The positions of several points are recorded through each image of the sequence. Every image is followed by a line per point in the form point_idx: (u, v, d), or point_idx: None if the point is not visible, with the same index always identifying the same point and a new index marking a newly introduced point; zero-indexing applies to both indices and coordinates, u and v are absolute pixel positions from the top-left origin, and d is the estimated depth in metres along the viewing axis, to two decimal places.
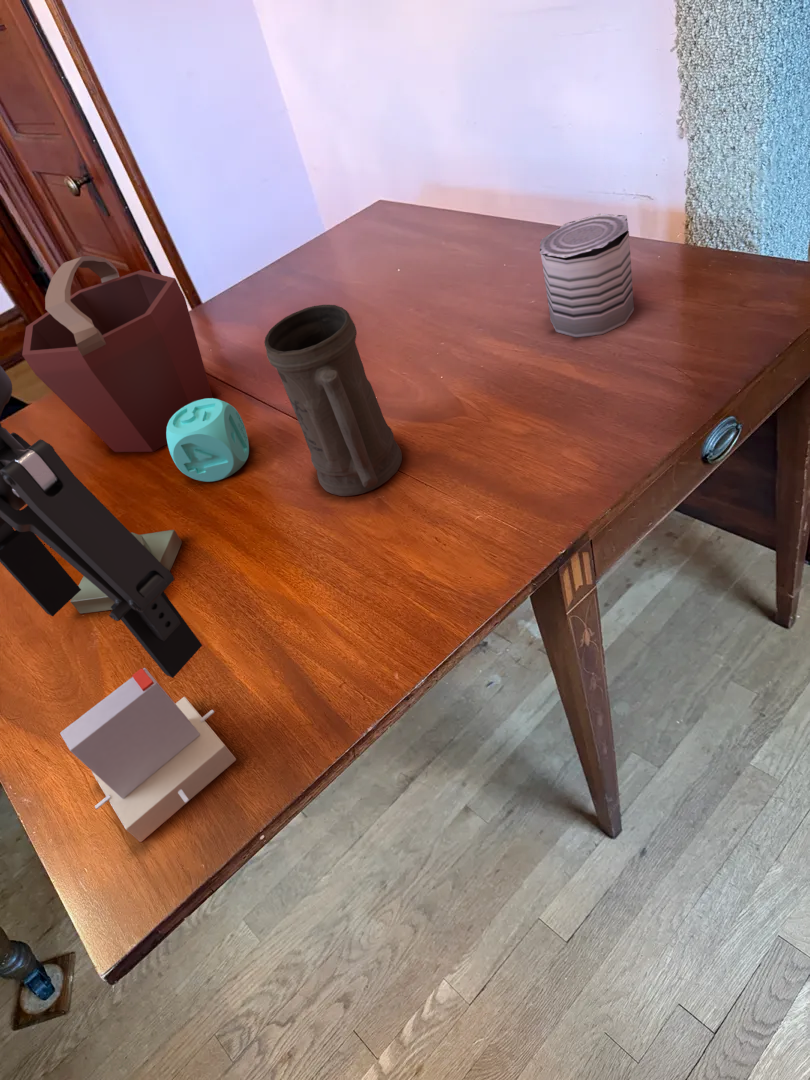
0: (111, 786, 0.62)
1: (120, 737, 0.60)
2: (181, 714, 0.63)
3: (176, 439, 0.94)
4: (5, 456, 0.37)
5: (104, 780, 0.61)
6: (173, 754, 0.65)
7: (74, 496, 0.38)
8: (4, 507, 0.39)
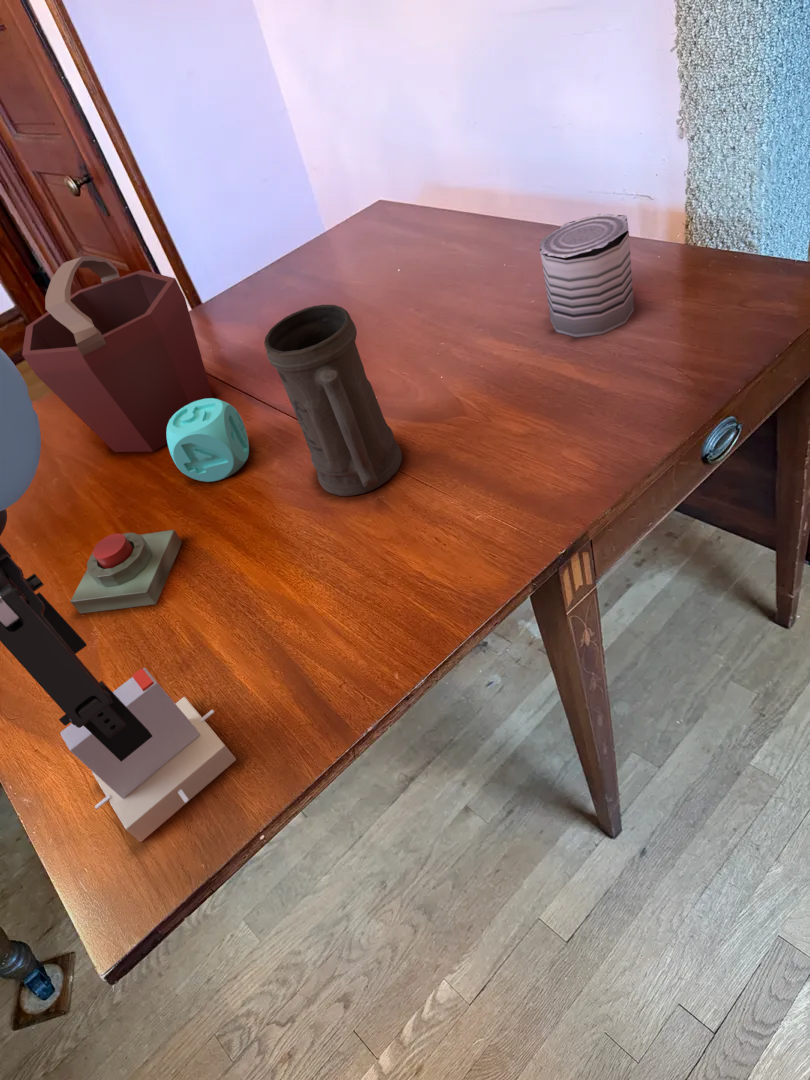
0: (111, 786, 0.62)
1: None
2: (181, 714, 0.63)
3: (176, 439, 0.94)
4: None
5: (104, 780, 0.61)
6: (173, 754, 0.65)
7: (32, 632, 0.45)
8: None
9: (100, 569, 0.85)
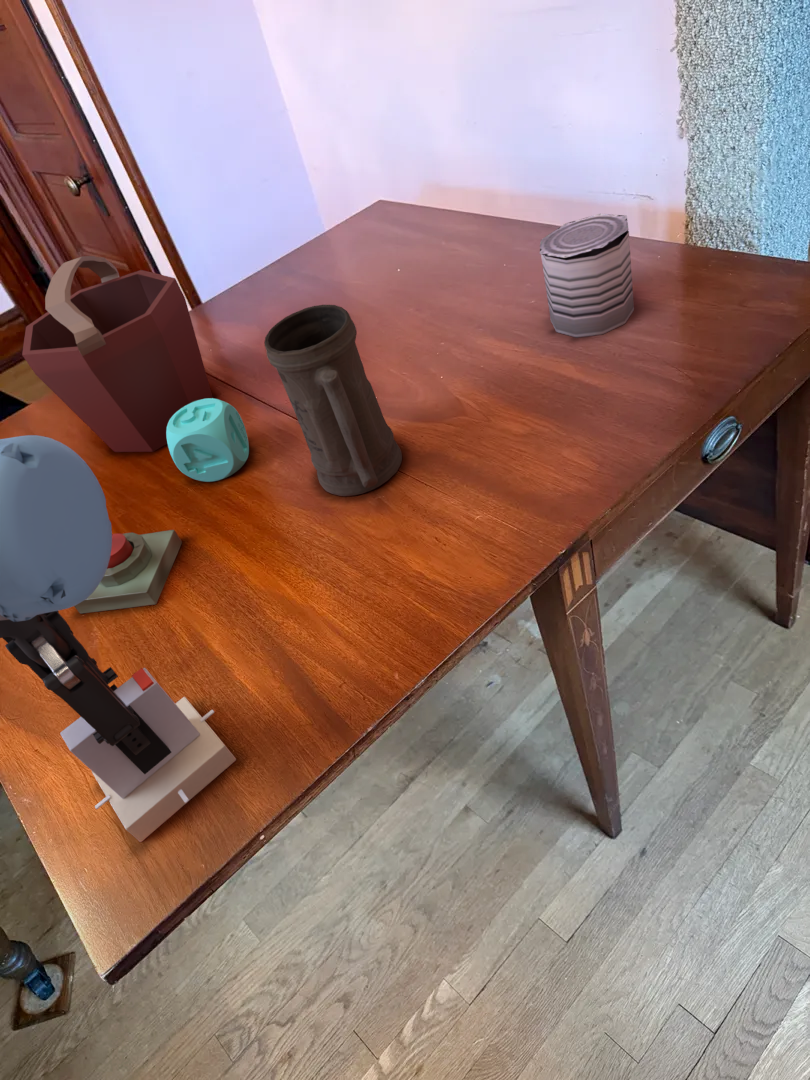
0: (111, 786, 0.62)
1: None
2: (181, 714, 0.63)
3: (176, 439, 0.94)
4: (46, 655, 0.49)
5: (104, 780, 0.61)
6: (173, 754, 0.65)
7: (89, 688, 0.51)
8: (40, 672, 0.52)
9: None
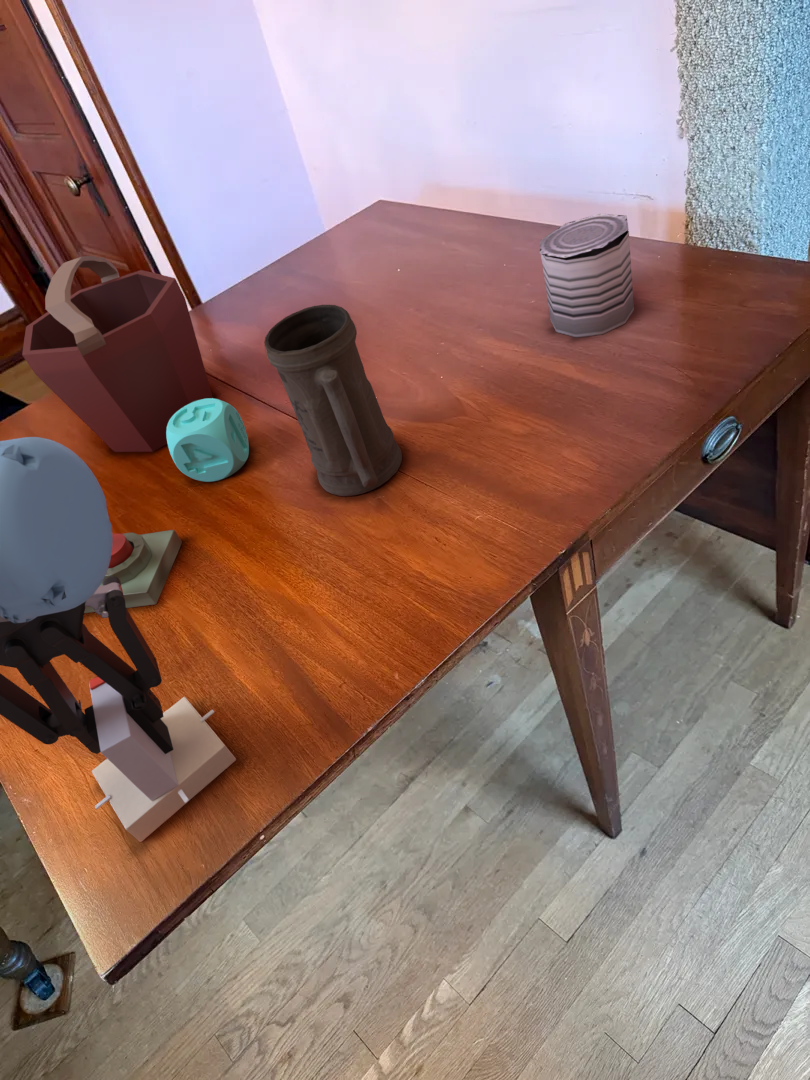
0: (166, 772, 0.61)
1: None
2: None
3: (176, 439, 0.94)
4: None
5: (160, 766, 0.60)
6: None
7: (127, 612, 0.56)
8: (79, 643, 0.54)
9: None
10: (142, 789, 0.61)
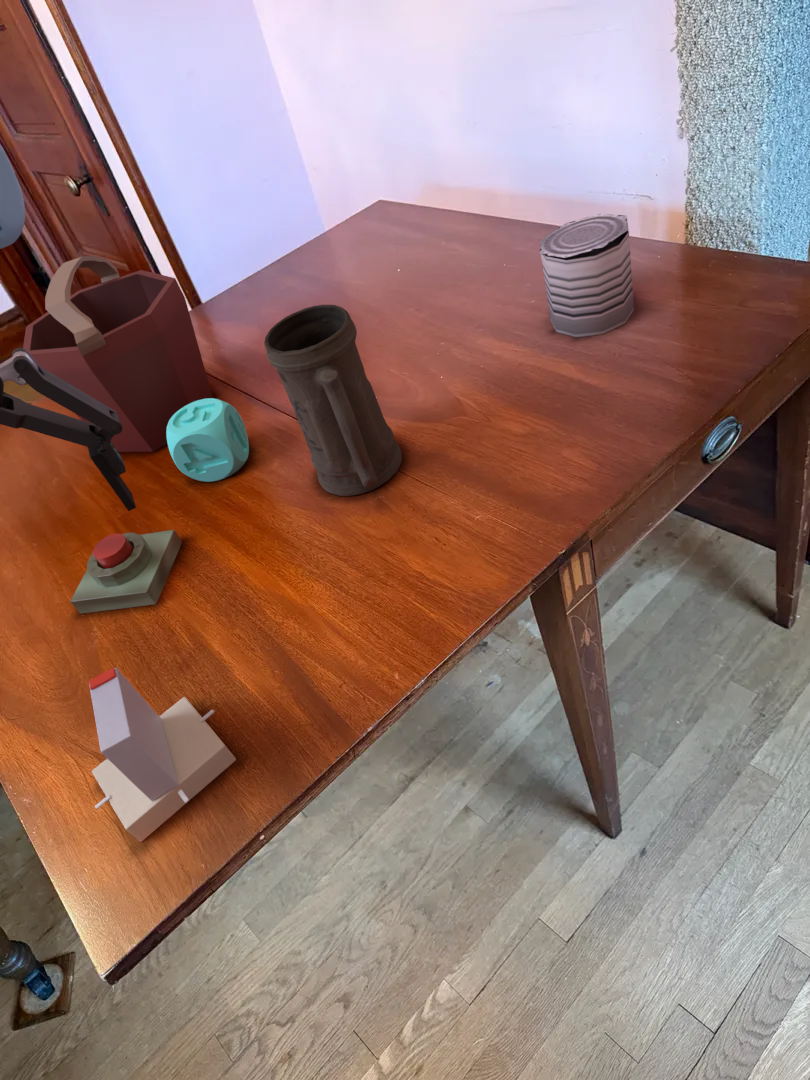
0: (166, 772, 0.61)
1: (138, 720, 0.61)
2: (142, 698, 0.66)
3: (176, 439, 0.94)
4: None
5: (160, 766, 0.60)
6: (165, 738, 0.66)
7: (50, 376, 0.61)
8: (5, 409, 0.59)
9: (100, 569, 0.85)
10: (142, 789, 0.61)
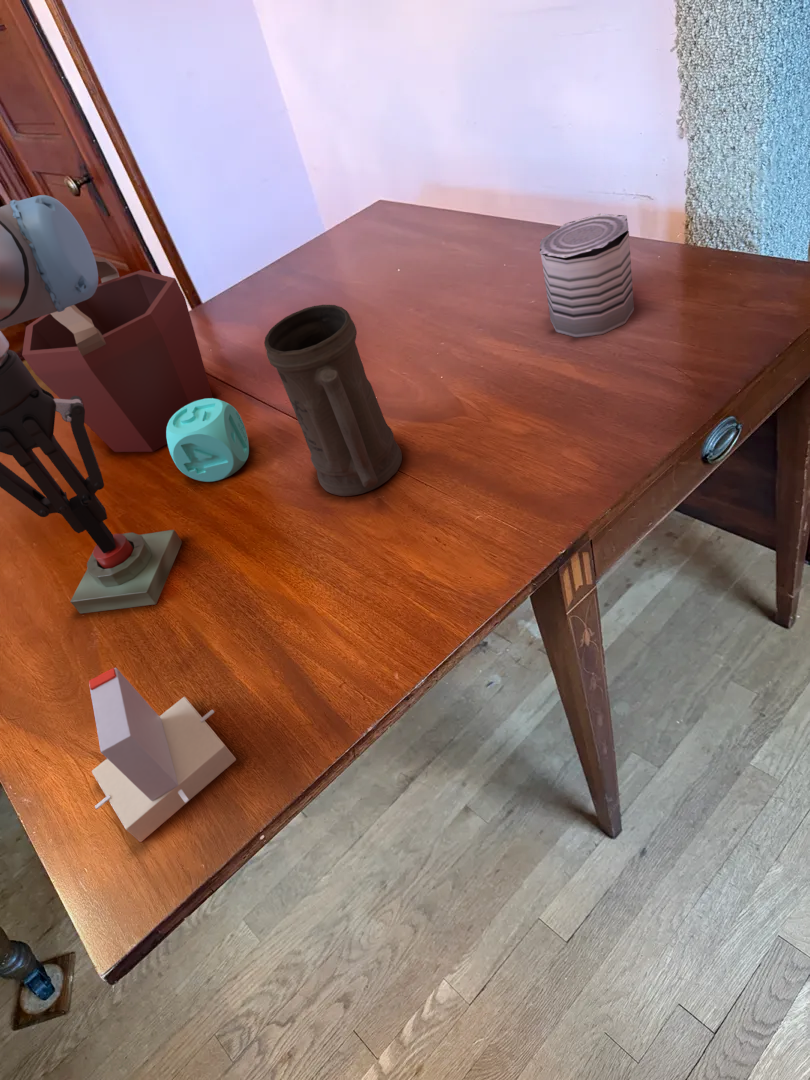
0: (166, 772, 0.61)
1: (138, 720, 0.61)
2: (142, 698, 0.66)
3: (176, 439, 0.94)
4: (59, 401, 0.74)
5: (160, 766, 0.60)
6: (165, 738, 0.66)
7: (84, 426, 0.77)
8: (49, 439, 0.74)
9: (100, 569, 0.85)
10: (142, 789, 0.61)
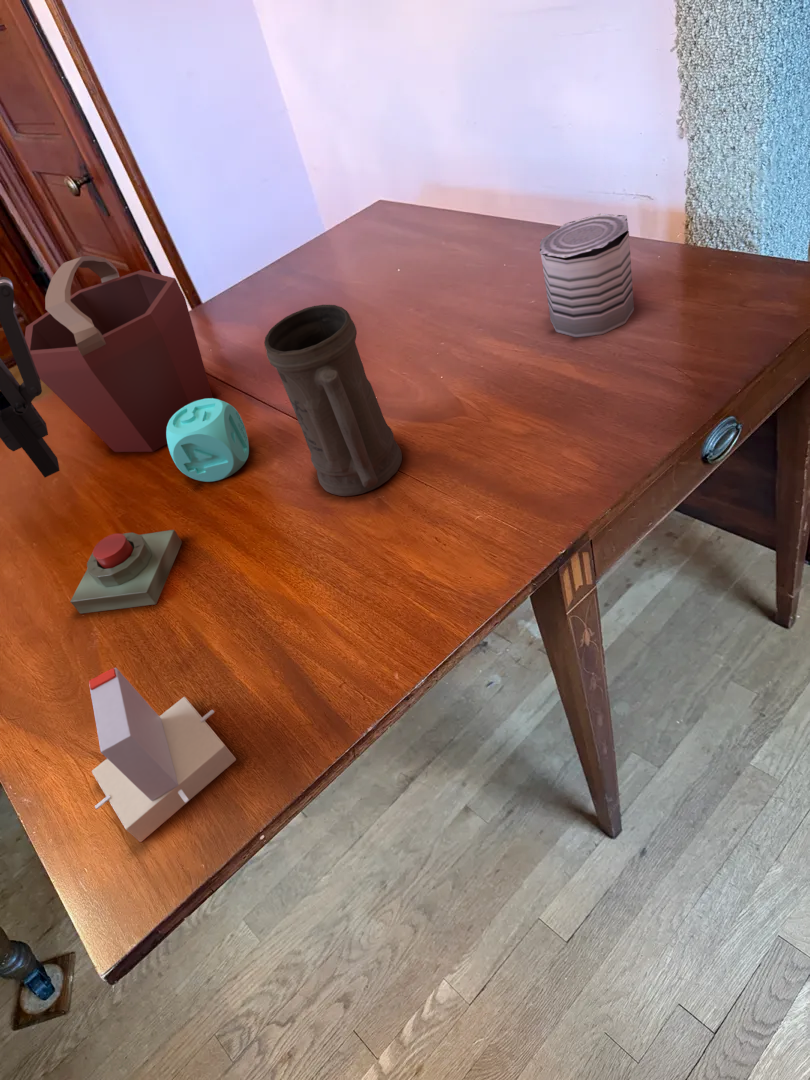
0: (166, 772, 0.61)
1: (138, 720, 0.61)
2: (142, 698, 0.66)
3: (176, 439, 0.94)
4: None
5: (160, 766, 0.60)
6: (165, 738, 0.66)
7: (15, 316, 0.64)
8: None
9: (100, 569, 0.85)
10: (142, 789, 0.61)
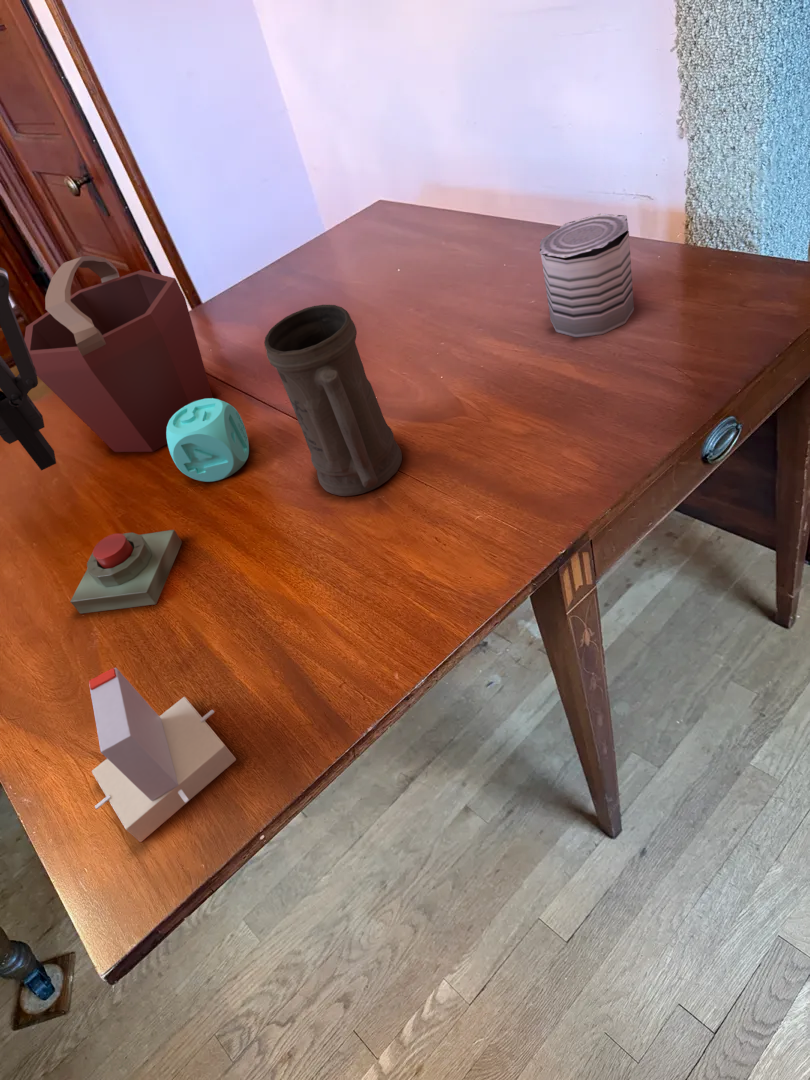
0: (166, 772, 0.61)
1: (138, 720, 0.61)
2: (142, 698, 0.66)
3: (176, 439, 0.94)
4: None
5: (160, 766, 0.60)
6: (165, 738, 0.66)
7: (11, 306, 0.63)
8: None
9: (100, 569, 0.85)
10: (142, 789, 0.61)
